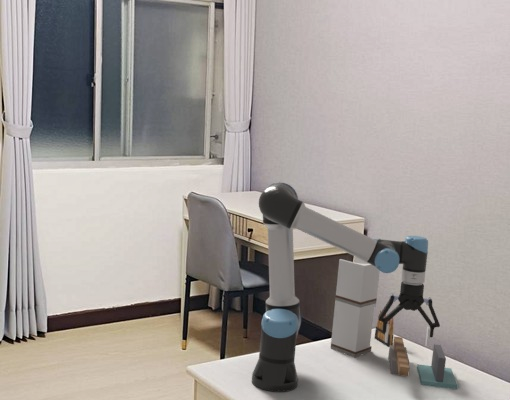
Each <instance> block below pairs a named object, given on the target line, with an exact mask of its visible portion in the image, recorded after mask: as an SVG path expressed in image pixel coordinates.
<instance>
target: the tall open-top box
mask: <svg viewBox="0 0 510 400" xmlns="http://www.w3.org/2000/svg"><path fill="white" fill-rule="evenodd" d="M353 258H354V259H353V261H350V260H345V259H342V258H340V259H339V261H338V268H337V269H338V270H337V281H336V288H335V290H336V291H335V299H334V301H335V302H334V310H333V311H334V312H333V317H332V318H333V320H332V331H331V338H330V339H331V341H330V349H331V350H334V351H337V352H339V353H342V354H344V353H345V355H347V356H351V357H353V358H357V357H360V356H363V355H366V354H368V353H371V352H372V346H371V341H372V329H373V320H374V311H375V308H376V307H377V301H378V300H377V298H378V290H379V289H378V288H379V281H380V273H381V271H379V270H378V269H377V268H376V267H375V266H373V265H371V264H369V263H367V262H366V261H363V260H361V259H359V258H357V257H355V256H353Z"/></svg>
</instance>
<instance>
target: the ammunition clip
mask: <svg viewBox="0 0 510 400" xmlns="http://www.w3.org/2000/svg"><path fill="white" fill-rule="evenodd" d="M381 312H382V310H379V312H378V316H379V315H380V313H381ZM388 314H389V313H388ZM388 314H387V313H386V315H385V316H384V318H385V317H386V316H387V315H388ZM388 322H389V331H388V341H387V343H385V332H383V330H382V329H383V322H382V321H379V320H378V319H377V323H376V326H375V330H374V331H375V332H374V340H376V341H378V342H379V343H381V344H382V345H384V346H386V347H387V348H389V346H390V345H391V346H394V345H393V343H394V334H393V333H394V317H393V318H392V319H391V320H389V321H388Z"/></svg>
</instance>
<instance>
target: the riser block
mask: <svg viewBox="0 0 510 400" xmlns="http://www.w3.org/2000/svg"><path fill="white" fill-rule="evenodd" d="M404 347H405V346H404ZM405 351H406V356H407V360H408V364H409V365H410V359H409V355H408V351H407V347H405ZM387 355H388V357H387V360H388V366H389V371H390V373H389V374H392V375H398V376H400V375H399V372H398V366H397V361H396V356H395V350H394V345H393V346H391V345H390V346H389V347H388V354H387Z"/></svg>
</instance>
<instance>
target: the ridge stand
mask: <svg viewBox="0 0 510 400" xmlns="http://www.w3.org/2000/svg"><path fill="white" fill-rule="evenodd" d="M446 361H447V358H446V356H445V353H444V350H443V348H442V346H441V344H433V349H432V359H431V365H427V364H426V365H425V364H417V365H416V369H417V373H418V377H419V381H420V385H422V386H426V387H427V386H428V387H435V388H442V389H452V390H458V388H459V387H458V386H459V385H458V382H457V380H456V378H455V375H454V372H453V370H452V368H450V367H446Z"/></svg>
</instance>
